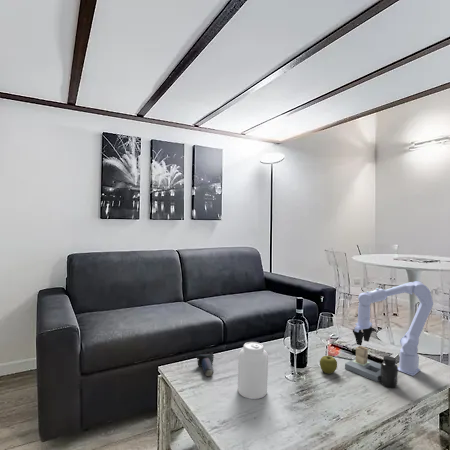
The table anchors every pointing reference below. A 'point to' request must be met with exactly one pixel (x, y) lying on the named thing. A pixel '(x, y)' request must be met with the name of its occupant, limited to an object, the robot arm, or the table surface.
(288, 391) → the table surface
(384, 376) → the supplement bottle
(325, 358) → the apple
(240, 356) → the can
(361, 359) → the beech block
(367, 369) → the pocket board
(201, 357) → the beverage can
